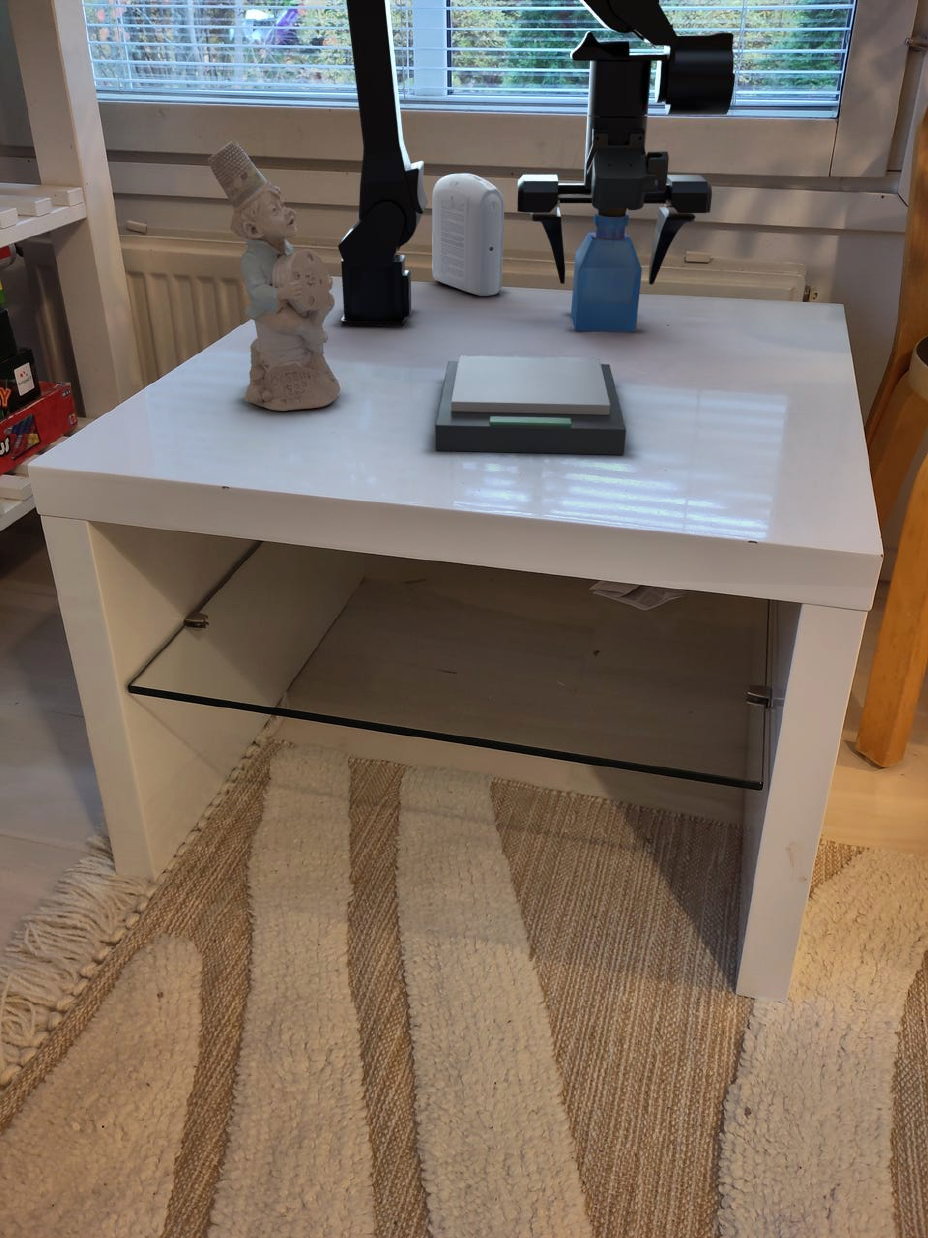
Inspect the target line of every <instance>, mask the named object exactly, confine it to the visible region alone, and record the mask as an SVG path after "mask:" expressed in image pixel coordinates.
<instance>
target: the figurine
mask: <svg viewBox="0 0 928 1238" xmlns="http://www.w3.org/2000/svg"><path fill="white" fill-rule="evenodd" d="M207 163H208V165H209V168H210V169H211V172H212V173H213V175H214V177H215V179H216V180H217V182H218V184H219V185H220V187H221V188H222V191H224V193H225V194H226V196H227V198H228V200H229V202H230V204H231V206H232V207H233V209H232V211H233V215H232V216H231V217H232V218H231V222H230V230H231V231H232V232H233V234H235V235H237V236H238V237H242V238H243V239H246V242H245V243H246V246H247V248H246V250H245V251H244V252H242V254H241V257H240V267H241V274H242V278H243V281H244V285H245V289H246V293H247V295H248V299H249V300H250V301H249V303H248V305H247V306H246V308H245V310H244V314H245V316H246V317H247V318H249V319H250V320H252V321H253V322H254V326H255V330H256V337H257V338H255V339H254V340H253V341H252V342H251V343H250V346H249V348H250V365H251V366H250V369H249V374H248V375H249V384H248V385H247V388H246V391H245V394H244V400H245V402H246V403H250V404H255V405H257V406H258V407H261V408H262V407H263V408H265V409H267V410H272V411H277V412H278V411H280V412H285V411H286V412H287V411H293V410H305V409H314V408H316V409H317V408H322V407H325V406H328V405H329V404H331V403H332V402H334V401H335V400H337V398H338V396H339V394H340V391H341V386H340V383H339V380H338V379H337V377H336V376H335V375H334V373H333V371H332V369H331V368H330V366H329V364H328V363H327V361H326V358H325V356H324V354H325V351H324V344H325V343H327V342H328V340H329V334H328V332H327V330H326V329H325V328H324V327H323V326H324V325H323V324H324V322H325V320H326V318H327V316H328V315H329V314H330V312H331V311H333V309H334V307H335V297H334V295H333V294H332V293H331V292H330V291H331V290H332V289H333V284H334V281H333V277H332V275H329V274H328V273H329V272H328V269H327V266H326V265H325V263H324V261H323V260H322V258H321V257H320V255H318V254H317V253H316V252H315V251H313V250H310V249H306V248H305V249H301V250H298V251H297V252H296V251H295V249H294V247H293V246H292V244H290V242H289V241H288V240H287V239H289V238H293V237H295V236H297V235H298V229H297V223H296V219H297V217H298V216H297V212H296V210H294V209H292V208H291V207H286V205H285V201H284V200H283V199H282V196H281V195H282V189H281V188H280V187H279V186H276V185H274V184H272V182H271V181H270V180H267V179H266V178H265V177H264V176H263V174H262V173H261V172H260V171H259V170H258V168H257V167H256V165H255V164H254V163H253V162H252V159H251V158H250V157H249V156H248V154H247V153H246V152H245V150H244V149H243V148H242V146H240V144H239V143H238V142H237V141H236V140H235V138H233V139H231V140H229V141H228V142H226V143H225V144H223V145H222V146H220V147H219V148H217V149H216V150H215V152H214V153H212V154H211V155H210V157H208V158H207Z"/></svg>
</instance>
